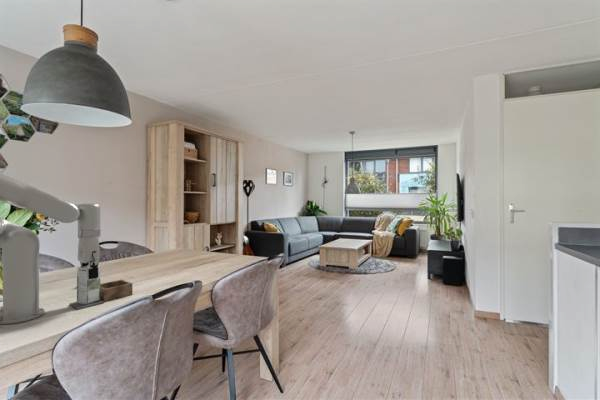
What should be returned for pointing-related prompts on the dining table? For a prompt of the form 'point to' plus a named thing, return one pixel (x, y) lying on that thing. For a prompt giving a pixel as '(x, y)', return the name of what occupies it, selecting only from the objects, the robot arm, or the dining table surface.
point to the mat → (81, 306)
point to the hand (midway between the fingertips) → (89, 276)
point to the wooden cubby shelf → (115, 290)
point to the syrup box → (87, 286)
